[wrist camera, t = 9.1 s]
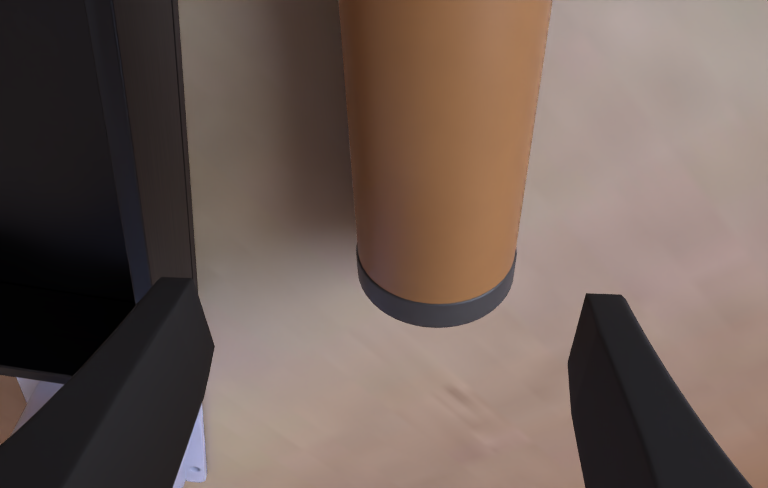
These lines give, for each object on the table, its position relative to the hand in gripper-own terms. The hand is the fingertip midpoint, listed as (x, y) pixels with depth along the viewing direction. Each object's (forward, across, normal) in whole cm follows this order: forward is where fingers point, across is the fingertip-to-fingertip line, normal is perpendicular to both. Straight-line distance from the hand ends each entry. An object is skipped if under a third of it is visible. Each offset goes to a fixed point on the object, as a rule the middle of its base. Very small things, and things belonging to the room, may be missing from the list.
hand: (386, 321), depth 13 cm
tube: (+8, -1, -1) cm, 8 cm away
